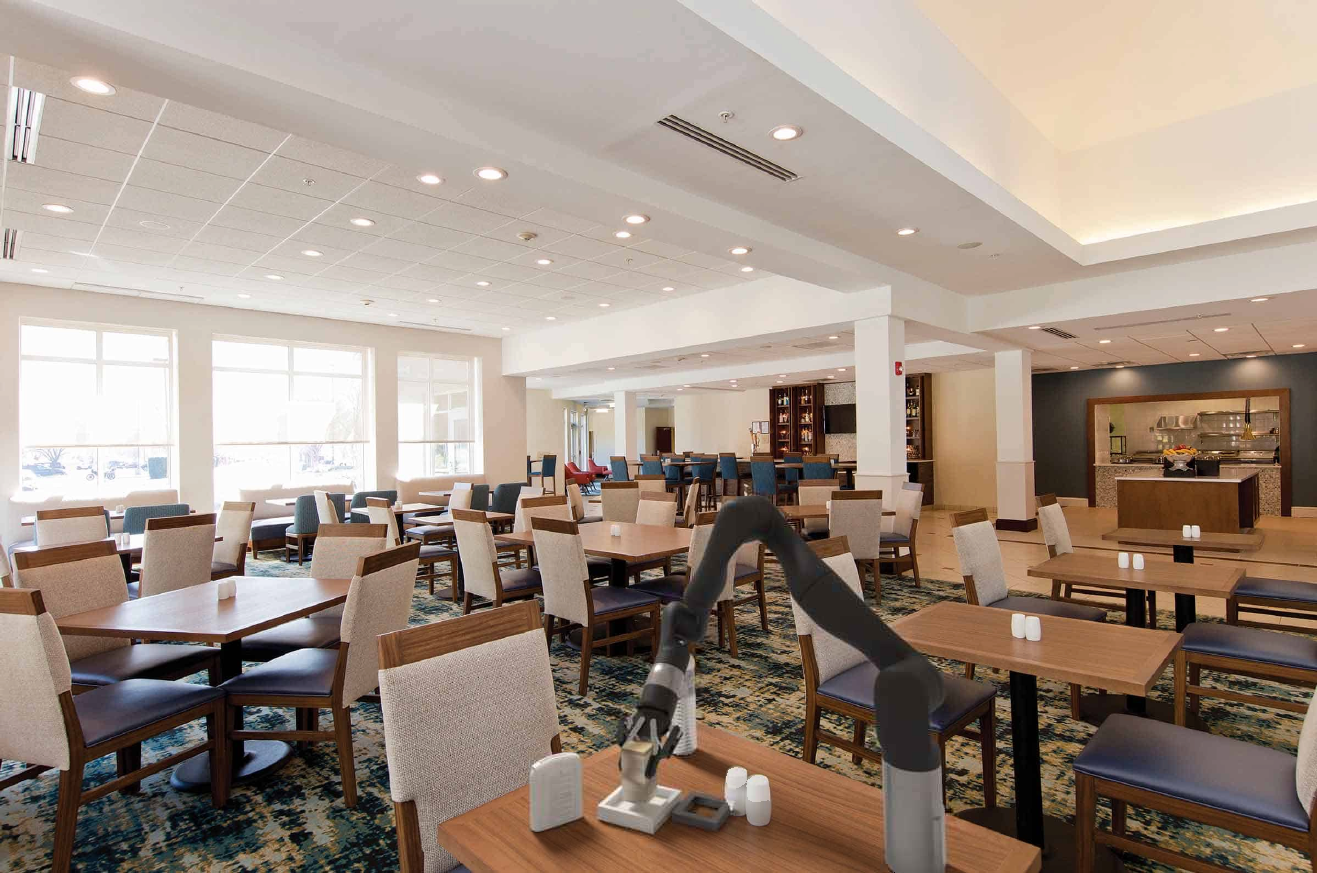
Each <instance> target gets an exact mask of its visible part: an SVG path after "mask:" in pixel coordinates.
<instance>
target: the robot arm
mask: <svg viewBox="0 0 1317 873" xmlns="http://www.w3.org/2000/svg"><path fill="white" fill-rule="evenodd" d="M756 541H758V542H760V543H761V544H762V545H763V546H765V547H766V548H767V549H768V550H769V552H770V553H771V554H772V555H773V557H775V558H776V559H777V561H778V562H779V565H780V566H781V569H782V572H783V575H784V578H785V579H784V580H785V583H786V587H787V590H788V591H789V594H790V595H791V597H792V599H793V600H794V602H795V603H796V604H797V605H798V606H799V608H801V609H802V611H803V612H804V613H805V614H806V615H807V616H808V617H809V618H810V620H811V621H813V622H814V624H815V625H817V626H818V628H821V629H822V630H823V631H825V632H826V633H827V634H829V635H831V636H833V637H834V638H836V639H838V640H840V641H841V642H843V643H845V644H847V645H849V646H850V647H852V648H854V649H855V650H857V651H858V652H860V653H861V654H863V655H864V657H866V658H867V659H868V660H869V661H870V662H871V663H872V664H873V665H874V666H875V668H876V669H877V670H878V671H879V672H878V674H877V675H876V677H875V679H874V685H873V709H874V710H873V711H874V712H873V713H874V723H875V732H876V733H875V734H876V739H877V741H878V742H877V743H878V744H879V746H880V749H881V768H882V769H881V770H882V772H881V774H882V798H883V799H882V800H883V801H882V802H883V803H882V804H883V831H884V832H883V833H884V859H885V860H884V861H885V864H887V865H888V866H887V865H886V866H887V868H888V867H889V868H890V869H891V870H892V871H893V872H892V871H891V870H890V869H889V868H888V869H889V870H890V871H891V872H892V873H894V872H895V873H946V869H947V843H946V840H947V839H946V837H947V836H946V815H945V814H946V813H945V812H946V811H945V810H946V809H945V805H944V804H943V802H944V801H943V781H942V780H943V779H942V752H941V746H940V745H939V743H938V742H937V741H936V740H934V739H933V738H932V734H931V733H932V732H931V720H930V718H931V717H930V715H931V713H933V712H935V710H937V709H938V708H939V707H940V706H942V705H943V703H944V702H945V699H946V696H947V687H946V684H945V680H944V678H943V676H942V674H941V672H940V671H939V669H938V668H937V667H936V666H935V665H934V664H933V663H932V662H931V661H930V660H929V659H928V658H927V657H925V656H924V655H923V654H922V653H920V652H919V651H918V650H917V649H916V648H914V647H913V646H912V645H911V644H910V643H908V642H907V641H906V640H905V639H903V638H902V636H900V635H899V634H898V633H896V632H895V631H894V630H893V629H892V628H891V627H890V626H889V625H887V623H886V622H884V620H883V619H882V618H881V617H880V616H879V615H878V614H877V613H876V612H875V611H874V610H873V609H872V608H871V606H869V605H868V604H867V603H866V602H865V600H863V599H862V598H861V597H860V596H859V595H858V594H857V593H856V592H855V591H854V590H853V589H852V587H850V585H849V584H848V583H847V582H846V581H845V580H844V579H843V578H842V577H841V576H840V575H839V574H838V573H837V572H836V571H835V570H834V569H833V568H832V567H831V566H829V564H827V563H826V562H825V561H824V560H823V559H822V558H821V557H820V555H819V554H817V552H815V551H814V549H813V548H812V547H811V546H810V545H809V544H808V543H807V542H806V541H805V540H804V539H803V538H802V537H801V536H800V535H799V533H797V531H796V530H795V529H794V528H793V527H792V525H791V524H790V523H789V521H788V520H787V519H786V518H785V517H784V515H783V514H782V513H781V512H780V510H779V509H778V508H777V507H776V505H775V504H774V503H773V502H772V501H771V500H770V499H768V498H767V497H765V496H763V495H761V494H750V495H748V494H747V495H744V496H737V497H734V498H730V499H728V500H727V501H725V502H724V503H723V505H722V506H721V507H720V508H719V510H718V513H717V514H716V517H715V521H714V523H713V526H712V530H711V532H710V535H709V538H708V541H707V544H706V547H705V549H704V553H703V556H702V558H701V561H700V562H699V565H698V567H697V568H696V570H695V572H694V574H693V575H692V577H691V578H690V581H689V582H688V584H687V586H686V588H685V589H684V591H683V594H682V599H683V602H684V603H682V602H681V601H677V600H675V601H673V600H672V601H671V602H669V603H667V605H666V606H665V607H664V609H663V611H662V615H661V621H660V622H661V623H660V639H659V645H658V646H659V647H658V650H657V654H656V656H655V659H654V661H653V662H654V663H653V664H652V667H651V669H650V671H649V673H648V676H647V678H646V680H645V685H644V686H643V690H642V692H641V696H640V698H639V701H638V704H637V710H636V712H635V713H634V714H633V716H625V715H623V714H621V715H620V716H619V718H618V719H619V720H618V727H617V733H616V734H617V735H616V745H617V746H618V747H619V748H620V749H621V748H622V747H623V746H624V745H626V744H627V743H628V742H629V741H633V740H635V739H642V740H647V741H651V744H652V745H653V747H652V756H651V755H650V757H649V761H648V764H647V767H646V770H645V773H644V775H645V777H646V778H647V779H650V780H651V778H652V777H654V775H655V773H656V770H657V771H658V766H659V762H660V761H661V760H662V759H663V760H664V759H666V760H669V759H670V758H672V755H674V754H673V752H674V750H675V748H676V746H677V744H678V743H679V741H680V739H681V737H682V735H683V731H682V730H681V728H680V727H679V726H678V725H675V726H674V725H672V718H673V716H674V713H675V710H676V706H677V703H678V700H679V697H680V695H681V690H682V687H683V681H684V676H685V673H686V670H687V667H688V664H689V660H690V654H691V651H690V650H689V648H688V647H686V645H685V644H684V645H683V644H682V643H681V642H679V641H680V640H679V639H678V638H680V639H682V640H684V641H686V642H688V643H691V644H697V643H699V642H701V641H702V640H703V639H704V638H705V636H706V635H707V632H708V628H709V622H710V616H711V614H712V613H711V612H712V610H713V608H714V606H715V604H716V603H717V601H718V599H719V598H720V596H721V595H722V593H723V591H724V589H725V587H726V585H727V582H728V581H727V580H728V566H729V562H730V560H731V559H732V557H733V555H735V553H736V552H738V550H739V549H740V548H741V547H742V545H744V544H749V543H753V542H756ZM677 637H678V638H677ZM632 725H633V728H632V729H631V727H632ZM630 729H631V731H630V733H629V730H630ZM668 731H669V737H668V738H667V737H666V738H667V739H666V740H665V742H664V744H663V737H665V735H666V734H667V732H668ZM617 767H618V770H619V771H620V773H621V774H622V763H621V756H620V757H619V759H618V762H617ZM945 868H946V869H945Z"/></svg>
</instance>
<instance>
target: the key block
mask: <svg viewBox="0 0 1317 873" xmlns="http://www.w3.org/2000/svg"><path fill="white" fill-rule="evenodd" d="M652 747H653V745H652V744H651V741H649V740H642V739H635V740H633V741H629V742H628V743H627V744H626V745H624V746H623V747H622V748H620V750H621V752H620V757H621V763H622V773H621V785H622V801H626V802H630V803H634V804H638V805H642V806H646V805H647V804H648V803H649V802H650V801H651V800H652V799H653V798H654V797H655V796H656V795H657V785H658V769H657V770H656V773H655V775H654V777H652V778H651V780H650V779H647V778H646V777H645V775H644V773H645V770H646V767H647V764H648V761H649V757H650V755H651V756H652Z"/></svg>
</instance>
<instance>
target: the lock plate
mask: <svg viewBox="0 0 1317 873" xmlns="http://www.w3.org/2000/svg"><path fill="white" fill-rule="evenodd" d="M726 799H727V798H723V797H719V796H714V795H710V794H705V793H700V792H697V791H690V793H688V795H687V796H685V798H684V799H682V802H681V803H680V804H679V805H678V806H677V807H676V808H675V809H674V810H673V812H672V815H671V821H672V822H676V823H679V824H683V825H688V826H691V827H695V828H699V829H703V830H707V831H710V832H711V831H712V832H715V833H717V831H718V830H719V829H720V828H721V826H722V825H723V824H724V822H725V821H726V819H727V818H728V817H729V816H730V815H731V813H732V812H731V810H730V806H729V805H728V803H727V802H726ZM694 805H699V806H704V807H708V808H712V809H717V811H716V812H715V814H713V816H712V817H709V816H704V815H701V814H698V813H697V814H696V813H693V812H689V811H690V810H691V809H692V808H693V807H694Z"/></svg>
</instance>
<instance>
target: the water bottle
mask: <svg viewBox="0 0 1317 873" xmlns="http://www.w3.org/2000/svg"><path fill="white" fill-rule="evenodd" d="M678 641H679V642H681V643H682V644H683V645H684V646H685V644H684V641H681V640H678ZM695 664H696V663H695V658H694V656H693V655H692V654H691V653H690V660H689V664H688V667H687V670H686V673H685V676H684V681H683V687H682V690H681V695H680V697H679V700H678V703H677V706H676V710H675V713H674V716H673V718H672V725H674V726H675V725H678V726H679V727H680V728H681V730H682V731H683V735H682V737H681V739H680V741H679V743H678V744H677V746H676V748H675V750H674V752H673V754H672V755H674V754H676V755H675V756H679V755H685V756H689V755H688V754H690V755H692V754H693V752H694V751H695V750H696V751H697V748H698V747H697V746H698V745H697V740H698V739H697V737H698V736H697V710H696V709H697V706H696V705H697V704H696V703H697V702H696V700H697V699H696V697H697V696H696V685H695V684H696V682H695V679H696V678H695ZM666 734H667V735H666V736H667V737H666V738H668V737H669V731H668V732H667V733H666ZM696 751H695V752H696ZM695 752H694V753H695ZM691 753H692V754H691Z"/></svg>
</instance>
